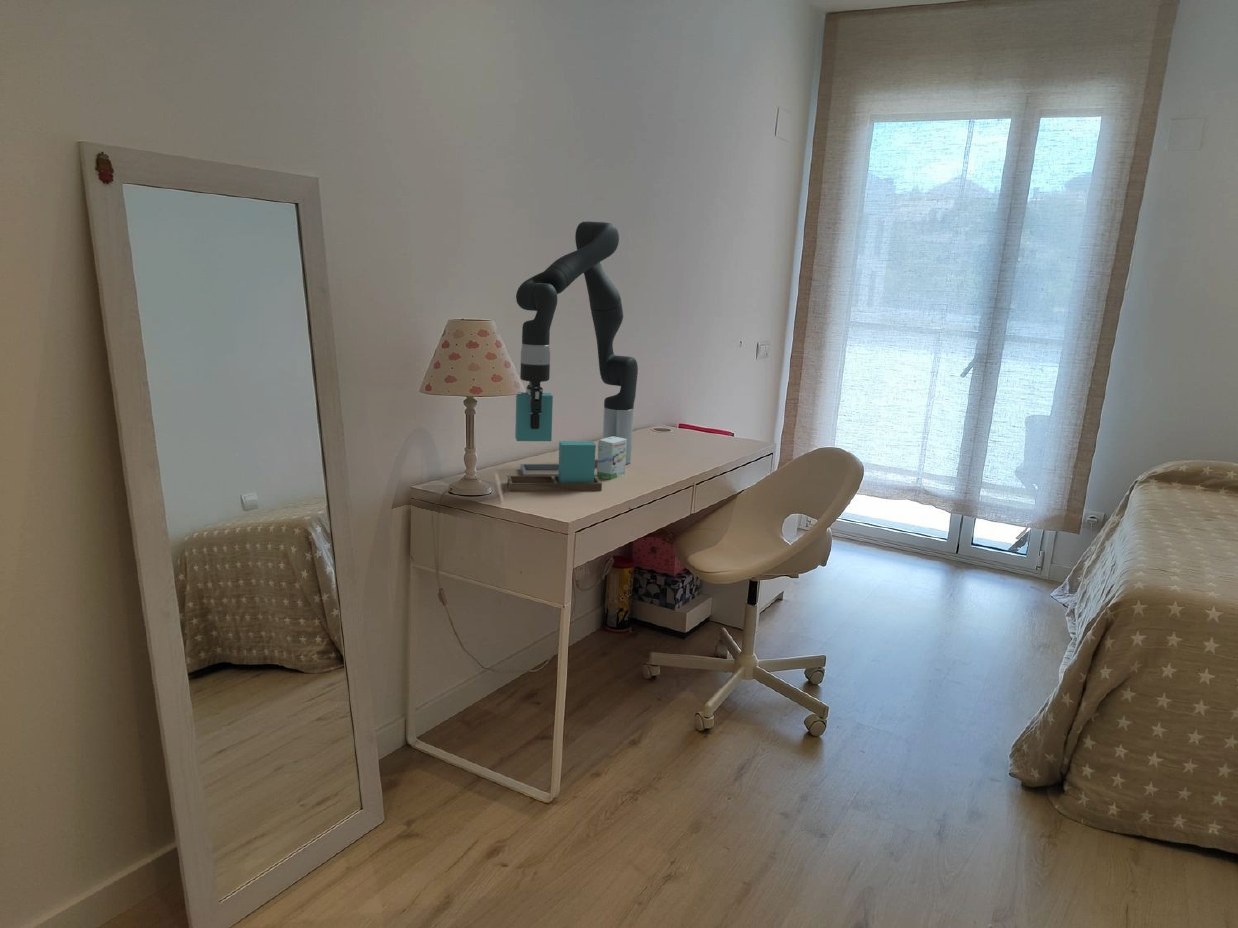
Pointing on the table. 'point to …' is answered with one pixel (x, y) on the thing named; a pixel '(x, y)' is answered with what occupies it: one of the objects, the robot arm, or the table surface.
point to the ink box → (611, 457)
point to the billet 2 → (576, 462)
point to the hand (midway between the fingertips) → (533, 426)
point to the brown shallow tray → (549, 484)
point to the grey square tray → (538, 467)
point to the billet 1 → (524, 419)
